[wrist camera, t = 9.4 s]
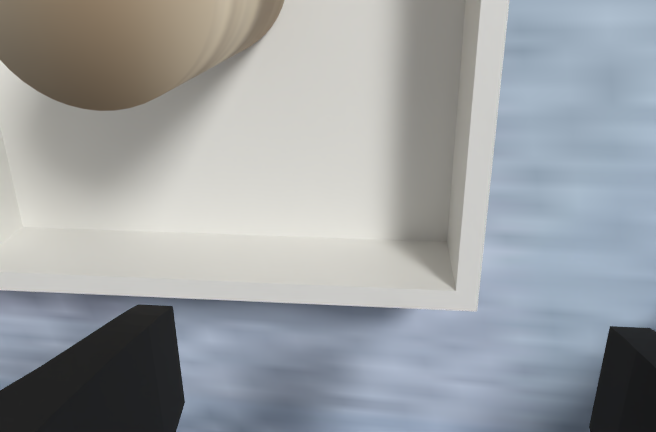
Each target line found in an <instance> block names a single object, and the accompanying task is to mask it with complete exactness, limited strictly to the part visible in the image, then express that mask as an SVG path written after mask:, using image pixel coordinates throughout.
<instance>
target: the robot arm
mask: <svg viewBox="0 0 656 432" xmlns="http://www.w3.org/2000/svg"><path fill="white" fill-rule="evenodd" d="M184 403H185V401H184V393H183V385H182V377H181V369H180V361H179V353H178V345H177V337H176V329H175V321H174V313H173V306H156V305H137V306H135V307H133V308H131V309H129V310H128V311H126V312H124V313H123V314H121V315H120V316H118V317H116V318H115V319H113V320H112V321H110V322H108V323H107V324H105V325H104V326H102V327H101V328H99V329H98V330H96V331H95V332H93V333H92V334H90V335H89V336H87V337H86V338H84V339H82V340H81V341H79V342H78V343H76V344H75V345H73V346H72V347H70V348H69V349H67V350H65V351H64V352H62V353H61V354H59V355H58V356H56V357H55V358H53V359H51V360H50V361H48V362H47V363H45V364H44V365H42V366H41V367H39V368H37V369H36V370H34V371H32V372H31V373H29V374H27V375H26V376H24V377H22V378H21V379H19V380H17V381H15V382H14V383H12V384H10V385H9V386H7V387H5V388H4V389H2V390H0V432H176V429H177V426H178V423H179V419H180V416H181V413H182V410H183V406H184ZM589 428H590V432H656V332H655V331H654V330H652V329H650V328H634V327H613V326H610V329H609V334H608V339H607V343H606V348H605V353H604V358H603V363H602V368H601V372H600V377H599V382H598V387H597V392H596V397H595V401H594V406H593V411H592V416H591V421H590V426H589Z"/></svg>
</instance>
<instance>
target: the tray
mask: <svg viewBox="0 0 656 432" xmlns="http://www.w3.org/2000/svg"><path fill="white" fill-rule="evenodd" d="M508 8H509V0H284V4H283V7H282V9H281V11H280V14H279V16H278V18H277V19H276V21H275V23H274V24H273V26H272V27H271V28H270V30H269V31H268V32H267V33H266V34H265V35H264V36H263V37H262V38H261V39H260V40H259V41H258V42H256V43H255V44H253V45H252V46H250V47H249V48H247V49H245V50H243V51H241V52H239V53H238V54H236V55H234V56H232V57H230V58H228V59H227V60H225V61H223V62H221V63H219V64H218V65H216V66H214V67H212V68H210V69H208V70H207V71H205V72H203V73H201V74H199V75H197V76H196V77H194V78H192V79H190V80H188V81H186V82H185V83H183V84H181V85H179V86H177V87H176V88H174V89H172V90H170V91H168V92H166V93H165V94H163V95H161V96H159V97H157V98H155V99H153V100H151V101H149V102H147V103H145V104H142V105H138V106H135V107H132V108H128V109H122V110H115V111H97V110H88V109H82V108H78V107H74V106H69V105H66V104H64V103H61V102H59V101H56V100H53V99H51V98H49V97H47V96H46V95H44V94H42V93H40V92H38V91H36V90H35V89H33V88H32V87H30V86H29V85H28V84H26V83H25V82H23V81H22V80H21V79H20V78H18V77H17V76H16V75H15V74H14V73H13V72H11V71H10V70H9V69H8V68H7V67H6V66H5V65H4V64H3V62H2V61H1V60H0V290H8V291H31V292H53V293H75V294H98V295H120V296H142V297H165V298H187V299H209V300H232V301H254V302H276V303H299V304H321V305H343V306H366V307H388V308H410V309H433V310H455V311H477V307H478V297H479V287H480V278H481V268H482V258H483V249H484V239H485V230H486V220H487V210H488V201H489V191H490V181H491V172H492V162H493V153H494V143H495V133H496V124H497V114H498V104H499V95H500V85H501V76H502V66H503V56H504V47H505V37H506V27H507V18H508Z"/></svg>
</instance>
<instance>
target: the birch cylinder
mask: <svg viewBox="0 0 656 432" xmlns="http://www.w3.org/2000/svg"><path fill="white" fill-rule="evenodd" d="M283 4H284V0H0V60H1V61H2V62H3V64H4V65H5V66H6V67H7V68H8V69H9V70H10V71H11V72H13V73H14V74H15V75H16V76H17V77H18V78H20V79H21V80H22V81H23V82H25V83H26V84H28V85H29V86H30V87H32V88H33V89H35V90H36V91H38V92H40V93H42V94H44V95H46V96H47V97H49V98H51V99H53V100H56V101H59V102H61V103H64V104H66V105H69V106H74V107H78V108H82V109H88V110H97V111H115V110H122V109H128V108H132V107H135V106H138V105H142V104H145V103H147V102H149V101H151V100H153V99H155V98H157V97H159V96H161V95H163V94H165V93H166V92H168V91H170V90H172V89H174V88H176V87H177V86H179V85H181V84H183V83H185V82H186V81H188V80H190V79H192V78H194V77H196V76H197V75H199V74H201V73H203V72H205V71H207V70H208V69H210V68H212V67H214V66H216V65H218V64H219V63H221V62H223V61H225V60H227V59H228V58H230V57H232V56H234V55H236V54H238V53H239V52H241V51H243V50H245V49H247V48H249V47H250V46H252V45H253V44H255V43H256V42H258V41H259V40H260V39H261V38H262V37H263V36H264V35H265V34H266V33H267V32H268V31H269V30H270V28H271V27H272V26H273V24H274V23H275V21H276V19H277V18H278V16H279V14H280V11H281V9H282V7H283Z"/></svg>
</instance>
